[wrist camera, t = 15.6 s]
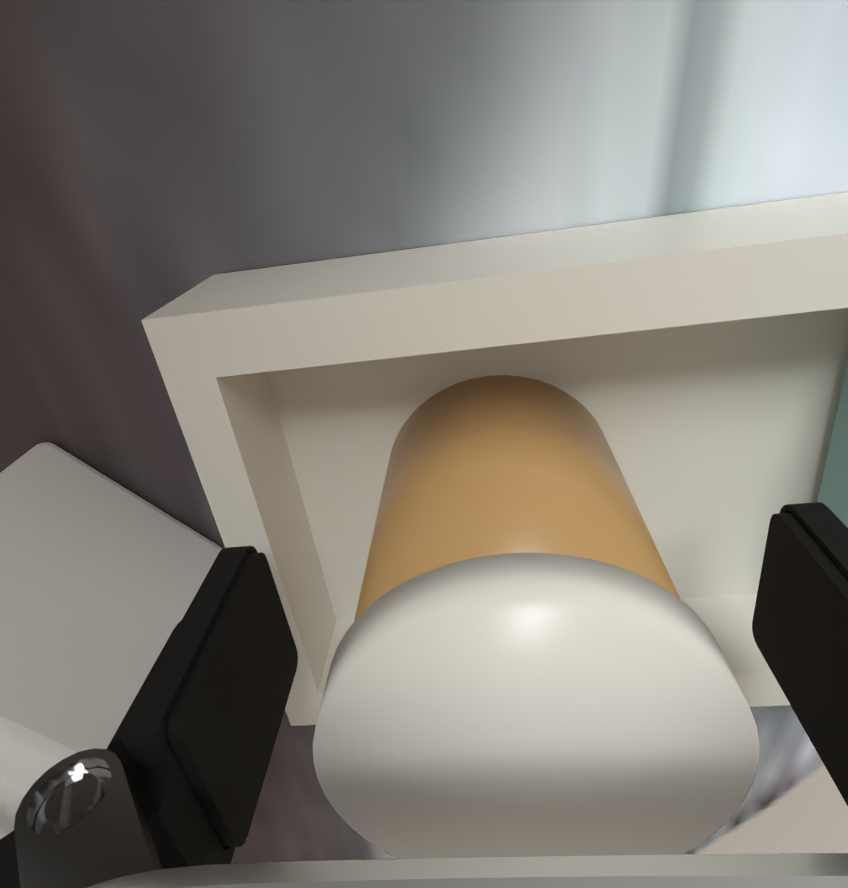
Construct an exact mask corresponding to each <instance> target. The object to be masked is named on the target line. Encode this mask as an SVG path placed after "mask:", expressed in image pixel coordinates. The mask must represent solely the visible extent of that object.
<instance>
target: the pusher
mask: <svg viewBox="0 0 848 888" xmlns="http://www.w3.org/2000/svg"><path fill="white" fill-rule="evenodd" d="M817 502H820V503H823V504H825V505H826V506H827V507H828V508H829V509H830V510H831V511H832V512H833V513H834V514H835V515H836V516H837V517H838V518H839V519H840V520H841V521H842V522H843V524H844V525H845V526H846V527H847V528H848V361H847V366H846V370H845V375H844V380H843V384H842V389H841V394H840V398H839V403H838V407H837V412H836V417H835V421H834V426H833V431H832V435H831V440H830V444H829V449H828V454H827V458H826V463H825V468H824V472H823V477H822V481H821V486H820V491H819V495H818V500H817Z"/></svg>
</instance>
